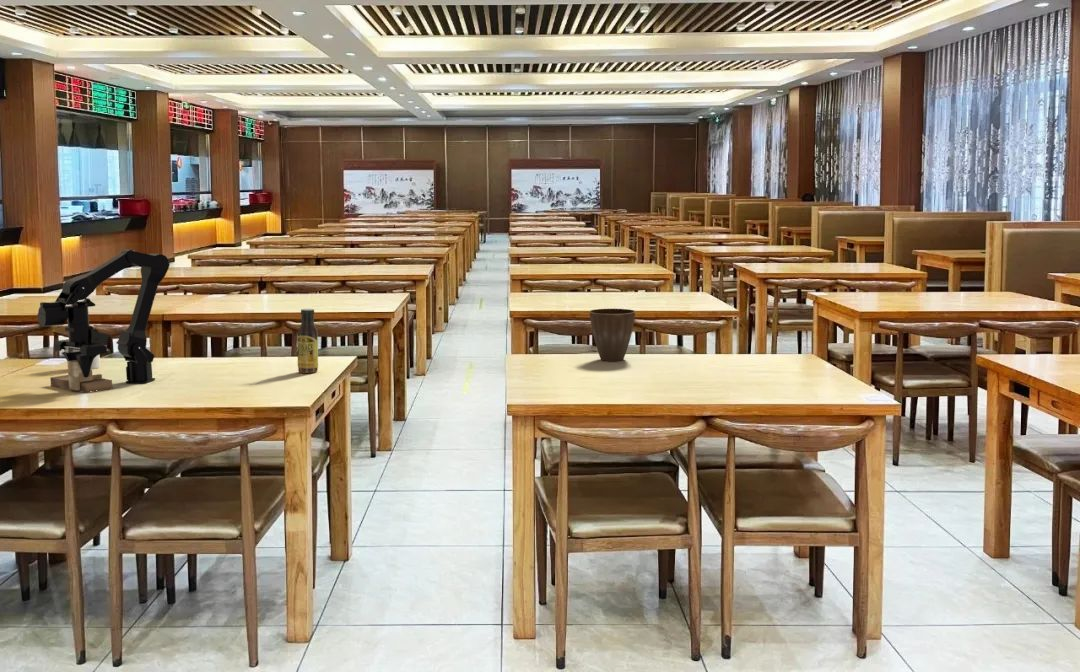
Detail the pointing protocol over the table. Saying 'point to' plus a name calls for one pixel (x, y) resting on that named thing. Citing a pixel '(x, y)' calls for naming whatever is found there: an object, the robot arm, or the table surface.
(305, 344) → the sauce bottle
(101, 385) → the walnut board
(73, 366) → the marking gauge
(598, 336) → the plant pot
